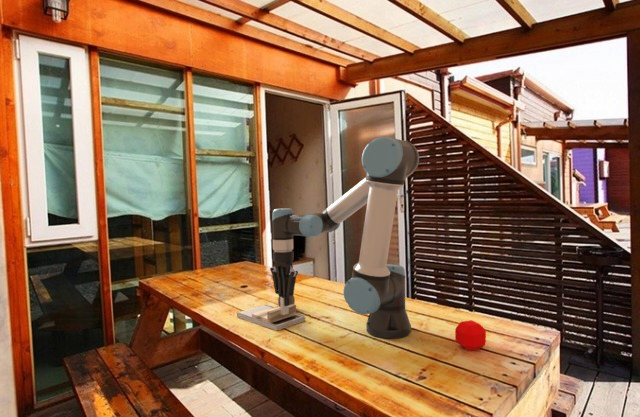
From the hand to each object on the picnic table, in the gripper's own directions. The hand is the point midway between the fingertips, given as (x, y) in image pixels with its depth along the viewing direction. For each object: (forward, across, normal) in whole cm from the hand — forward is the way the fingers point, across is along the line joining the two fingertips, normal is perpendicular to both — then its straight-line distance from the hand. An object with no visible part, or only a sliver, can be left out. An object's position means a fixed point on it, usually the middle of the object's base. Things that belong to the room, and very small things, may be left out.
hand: (284, 313), depth 146 cm
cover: (+2, +6, 0) cm, 7 cm away
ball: (+3, -60, -22) cm, 64 cm away
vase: (+4, +13, -12) cm, 18 cm away
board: (+4, +9, 0) cm, 9 cm away
